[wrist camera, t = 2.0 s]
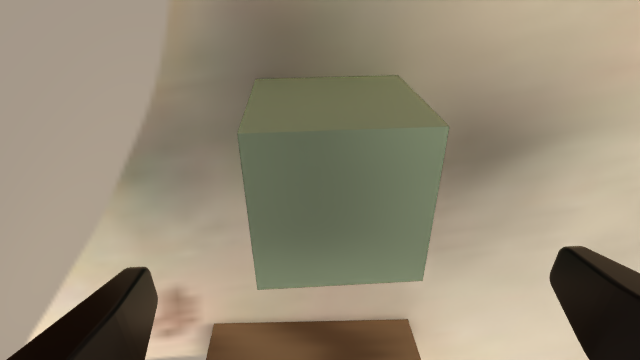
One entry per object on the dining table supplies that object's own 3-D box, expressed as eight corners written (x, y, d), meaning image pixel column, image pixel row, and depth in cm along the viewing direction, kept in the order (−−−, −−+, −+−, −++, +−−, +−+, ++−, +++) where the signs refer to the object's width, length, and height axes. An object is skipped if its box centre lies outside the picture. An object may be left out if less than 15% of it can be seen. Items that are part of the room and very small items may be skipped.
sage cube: (397, 74, 13) (449, 126, 9) (386, 194, 16) (422, 280, 11) (255, 78, 13) (237, 133, 9) (267, 199, 15) (257, 289, 11)
